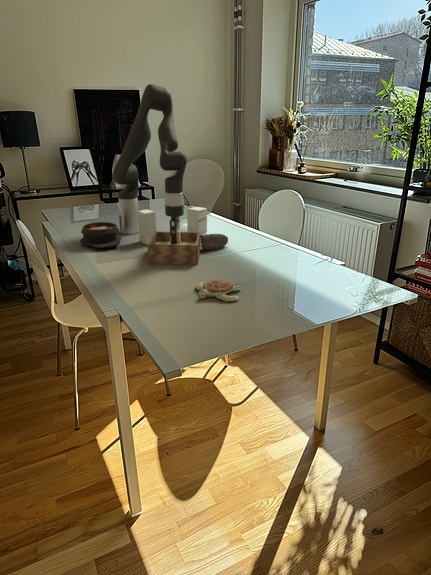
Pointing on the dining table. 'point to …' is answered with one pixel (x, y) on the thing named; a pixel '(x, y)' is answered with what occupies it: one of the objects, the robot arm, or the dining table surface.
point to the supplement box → (197, 220)
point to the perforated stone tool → (213, 241)
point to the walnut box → (174, 248)
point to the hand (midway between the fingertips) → (175, 242)
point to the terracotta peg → (177, 237)
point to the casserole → (100, 234)
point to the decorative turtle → (217, 290)
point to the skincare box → (146, 225)
